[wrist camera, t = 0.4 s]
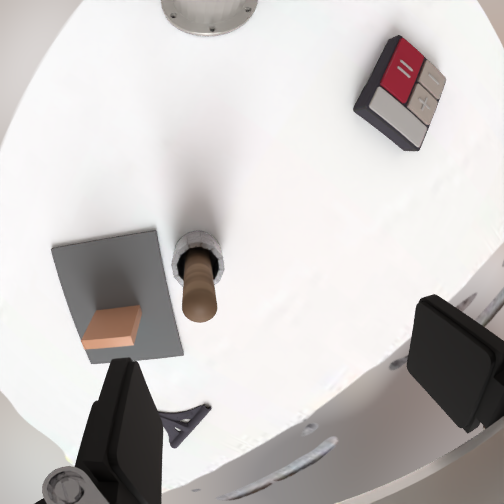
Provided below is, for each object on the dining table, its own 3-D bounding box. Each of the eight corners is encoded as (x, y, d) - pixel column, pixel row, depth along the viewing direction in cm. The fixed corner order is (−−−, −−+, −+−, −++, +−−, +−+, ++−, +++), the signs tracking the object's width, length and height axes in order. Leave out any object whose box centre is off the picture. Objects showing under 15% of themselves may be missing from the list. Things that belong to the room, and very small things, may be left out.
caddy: (171, 234, 41) (168, 246, 36) (217, 227, 42) (220, 238, 37) (179, 277, 43) (177, 293, 38) (223, 271, 44) (226, 286, 39)
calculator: (450, 78, 36) (422, 152, 39) (433, 81, 40) (404, 152, 43) (401, 32, 33) (367, 106, 35) (386, 39, 37) (351, 110, 39)
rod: (183, 246, 40) (179, 294, 27) (208, 242, 41) (214, 289, 28) (187, 268, 42) (185, 324, 29) (211, 265, 42) (219, 319, 29)
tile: (96, 310, 42) (80, 340, 34) (139, 304, 43) (130, 336, 35) (99, 319, 42) (85, 350, 35) (142, 314, 43) (134, 346, 36)
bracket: (136, 373, 48) (133, 384, 45) (211, 404, 52) (212, 415, 50) (110, 417, 50) (107, 427, 48) (177, 442, 55) (177, 453, 52)
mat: (52, 248, 38) (50, 249, 38) (156, 230, 40) (155, 231, 40) (92, 362, 45) (91, 364, 44) (183, 353, 47) (183, 355, 47)
